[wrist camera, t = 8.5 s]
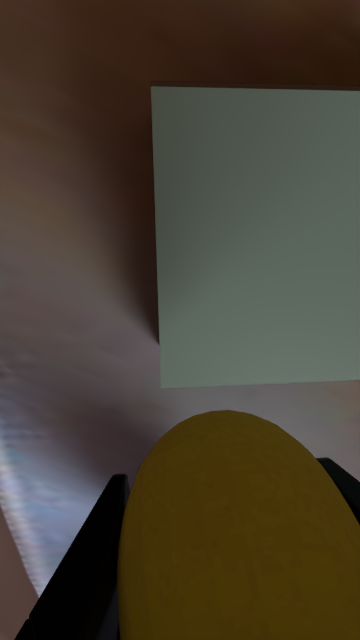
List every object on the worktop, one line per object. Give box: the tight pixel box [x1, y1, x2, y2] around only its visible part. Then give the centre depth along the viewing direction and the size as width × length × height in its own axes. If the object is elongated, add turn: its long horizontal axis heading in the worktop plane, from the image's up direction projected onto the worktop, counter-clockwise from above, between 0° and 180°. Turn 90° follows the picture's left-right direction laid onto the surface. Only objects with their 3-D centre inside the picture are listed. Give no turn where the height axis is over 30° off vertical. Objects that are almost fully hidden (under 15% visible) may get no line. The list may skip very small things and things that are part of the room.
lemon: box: [117, 410, 360, 640], centre depth 7 cm, size 6×6×8 cm
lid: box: [151, 86, 360, 389], centre depth 14 cm, size 13×13×1 cm
